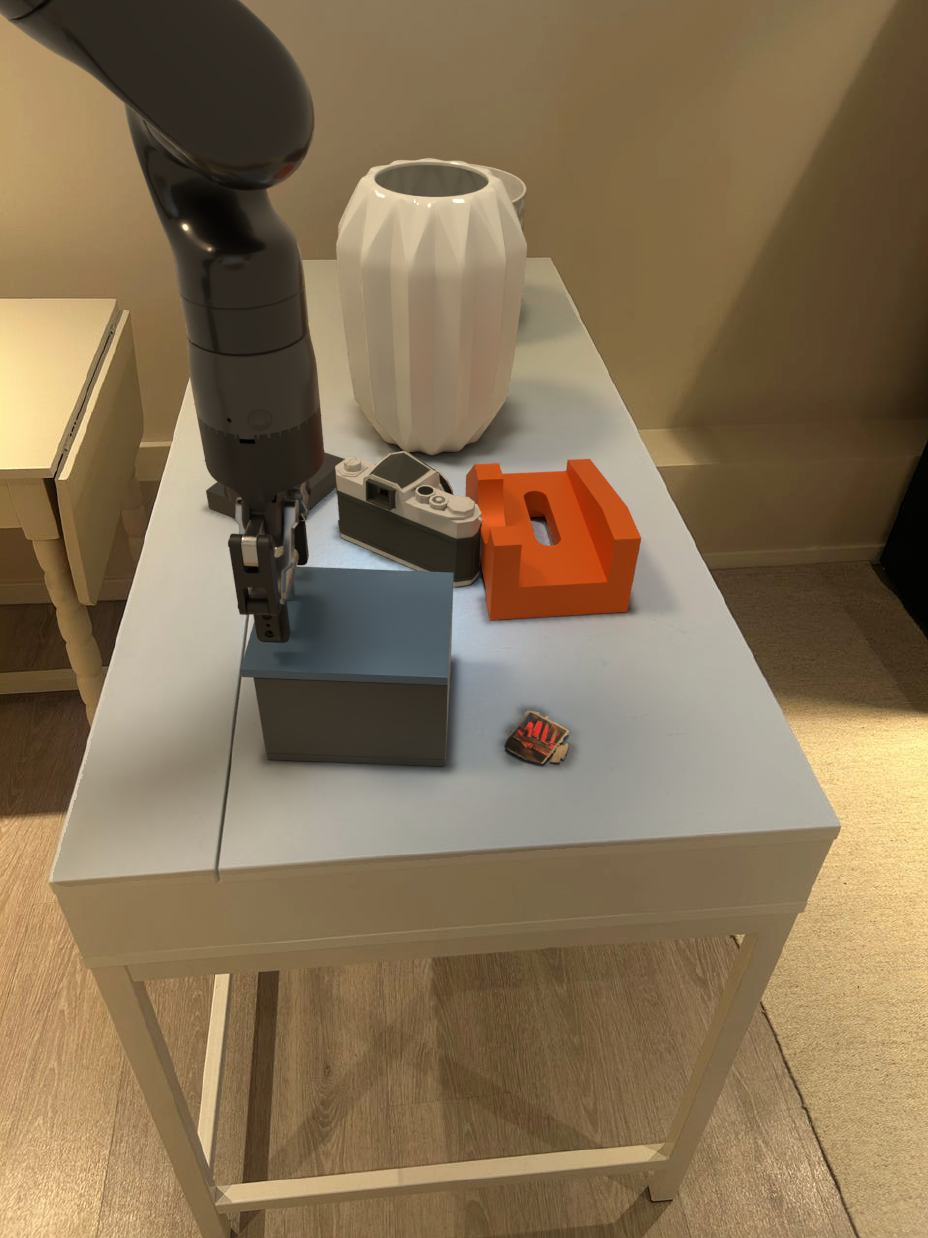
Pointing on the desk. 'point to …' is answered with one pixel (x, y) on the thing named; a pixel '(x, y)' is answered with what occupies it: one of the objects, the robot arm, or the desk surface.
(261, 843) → the desk surface
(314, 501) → the control block
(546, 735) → the matchbox
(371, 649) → the lid
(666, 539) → the desk surface
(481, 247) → the vase
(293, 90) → the robot arm
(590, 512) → the orange slotted stand
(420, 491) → the camera
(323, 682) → the open box
